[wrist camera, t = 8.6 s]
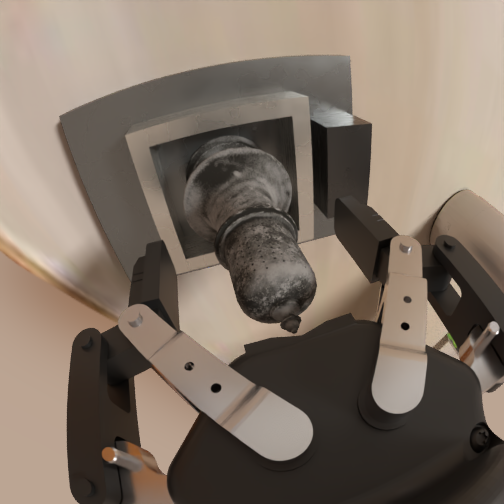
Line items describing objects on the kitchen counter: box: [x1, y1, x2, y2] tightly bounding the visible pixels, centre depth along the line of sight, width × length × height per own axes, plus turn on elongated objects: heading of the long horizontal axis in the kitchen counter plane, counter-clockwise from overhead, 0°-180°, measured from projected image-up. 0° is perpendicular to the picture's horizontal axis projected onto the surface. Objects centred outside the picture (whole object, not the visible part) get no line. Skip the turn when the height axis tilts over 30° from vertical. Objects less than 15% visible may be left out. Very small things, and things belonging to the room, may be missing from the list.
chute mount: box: [59, 55, 372, 283], centre depth 17 cm, size 18×14×4 cm
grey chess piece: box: [183, 135, 317, 334], centre depth 13 cm, size 6×6×12 cm
